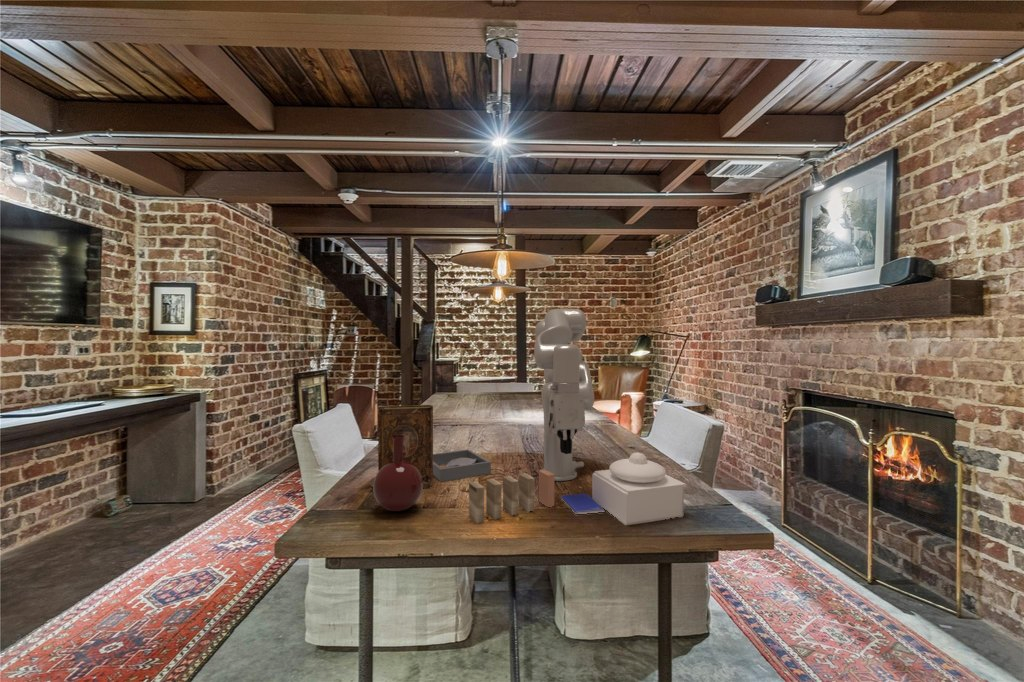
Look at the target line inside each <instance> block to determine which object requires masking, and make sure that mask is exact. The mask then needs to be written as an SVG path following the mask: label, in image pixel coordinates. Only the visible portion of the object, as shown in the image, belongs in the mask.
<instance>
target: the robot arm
mask: <svg viewBox="0 0 1024 682" xmlns="http://www.w3.org/2000/svg"><path fill="white" fill-rule="evenodd" d="M586 328H587V318H586V314H585V313H584V311H583V310H581V309H578V308H553V309H551V310H549V311H548V312H546V314H545V315H544V319H543V320H540V321H539V322H537V323H536V324H535V329H534V337H535V341H534V347H533V350H534V351H533V353H534V361H535V365H536V366H537V367H538V369H542V370H543V376H544V381H545V384H544V385H543V386H542V388H541V392H540V393H541V395H540V396H541V402H542V408H543V468H541V469H540V470H546V471H548V472H550V473H552V474H554V482H556V481H557V482H565V481H570V480H574V479H576V478H577V476H578V472H577V471H576V469H577V468H583V467H584V466H585V463H584V461H576V460H573V440H574V439H575V435H576V434H577V433H579V432H581V431H582V430H583V428H584V427H585V425H586V411H587V410H591V408H593V406H594V405H595V391H594V387H593V379H592V375H591V371H590V366H589V364H588V363H587V362H586V361H585V360H583V351H582V350H581V348H580V346H578V345H577V344H572V343H576V342H578V341H580V340H581V338H583V335H584V333H585V331H586ZM569 343H571V344H569Z"/></svg>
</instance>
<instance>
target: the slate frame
mask: <svg viewBox="0 0 1024 682" xmlns="http://www.w3.org/2000/svg"><path fill="white" fill-rule="evenodd" d="M459 458H470V459H476V463H475V464H468V465H461V466H455V467H448V468H445V467H444V468H443V467H442V466H441V465H443V466H444V465H447V464H448V463H449V462H450V461H451V460H453V459H459ZM485 474H486V475H491V474H492V462H491V461H490V460H489V459H486V458H485V457H483V456H481V455H479V454H478V453H476V452H475V451H472V450H471V449H461V450H455V451H445V452H440V453H439V452H438V453H433V478H435V479H436V480H437V481H439V482H441V483H442V481H443V482H447V481H448V482H449V481H453V480H454V481H455V480H460V478H461V479H466V478H465V477H468V478H472V477H471V476H474V477H478V476H477V475H480V476H484V475H485Z"/></svg>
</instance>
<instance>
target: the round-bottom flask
mask: <svg viewBox="0 0 1024 682" xmlns="http://www.w3.org/2000/svg"><path fill="white" fill-rule="evenodd" d="M392 438H393V461H392V462H390V463H388V464H386V465H384V466H383V467H382V468H381V469H380V470H379V471H377V473H376V475H375V477H374V479H373V483H372V487H373V488H372V490H373V491H372V493H373V496H374V498H375V500H376V502H377V503H378V505H380V507H382V508H384V509H385V510H386V511H390V512H402V511H405V510H408V509H410V508H411V507H413V506H414V505H415V504H416V503H417V502H418V500H419V499H420V497H421V495H422V493H423V490H424V489H423V479H422V476H421V473H420V471H419V470H418V469H417V467H416V466H414V465H413V464H412V463H410V462H407V461H403V438H404V436H402V435H396V436H393V437H392Z"/></svg>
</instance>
